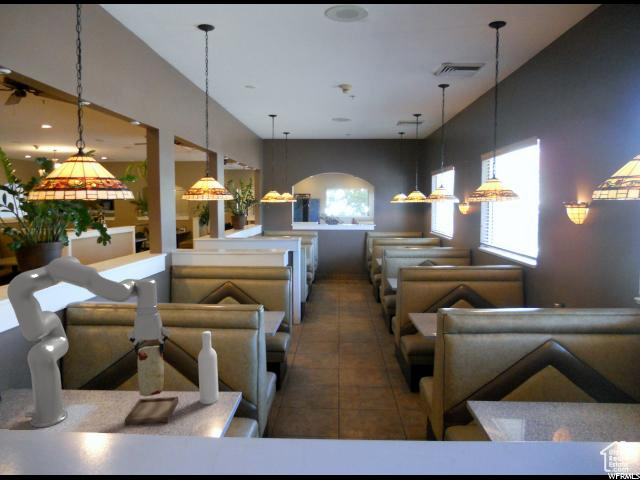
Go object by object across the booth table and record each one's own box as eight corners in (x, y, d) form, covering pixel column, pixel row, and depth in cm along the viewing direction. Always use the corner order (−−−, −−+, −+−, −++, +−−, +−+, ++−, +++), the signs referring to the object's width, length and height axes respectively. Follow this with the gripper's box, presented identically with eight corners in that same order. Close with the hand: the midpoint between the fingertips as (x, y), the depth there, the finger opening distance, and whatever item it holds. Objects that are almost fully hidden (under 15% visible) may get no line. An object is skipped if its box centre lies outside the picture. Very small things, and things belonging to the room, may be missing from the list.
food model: (140, 400, 172) (137, 350, 170) (137, 394, 178) (134, 346, 176) (166, 394, 177) (163, 345, 176) (162, 388, 183) (160, 341, 181)
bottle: (200, 397, 192) (197, 330, 190) (219, 395, 194) (216, 328, 191) (198, 405, 184) (195, 335, 182) (218, 403, 186) (215, 334, 183)
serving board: (125, 425, 169) (124, 419, 168) (139, 404, 186) (139, 398, 186) (167, 423, 170) (167, 417, 170) (178, 402, 188) (178, 396, 188)
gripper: (121, 313, 170) (124, 357, 172) (167, 311, 172) (170, 355, 173) (128, 309, 178) (130, 351, 179) (172, 307, 179) (174, 348, 181)
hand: (150, 352), depth 176 cm, fingers closed on food model, 8 cm apart
